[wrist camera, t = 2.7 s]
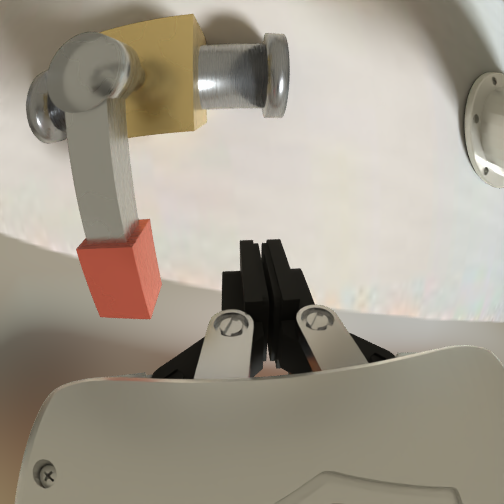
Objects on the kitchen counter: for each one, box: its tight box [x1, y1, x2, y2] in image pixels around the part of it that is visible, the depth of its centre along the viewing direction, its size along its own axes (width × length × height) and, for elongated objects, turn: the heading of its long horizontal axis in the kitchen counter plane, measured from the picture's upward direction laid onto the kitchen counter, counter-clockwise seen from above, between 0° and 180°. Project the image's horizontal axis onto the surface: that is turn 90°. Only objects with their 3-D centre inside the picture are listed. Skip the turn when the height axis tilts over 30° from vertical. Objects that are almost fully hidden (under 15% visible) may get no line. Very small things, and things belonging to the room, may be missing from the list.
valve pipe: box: [26, 14, 290, 144], centre depth 13 cm, size 16×6×9 cm, turn 90°
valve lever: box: [47, 32, 162, 319], centre depth 10 cm, size 12×3×3 cm, turn 0°
